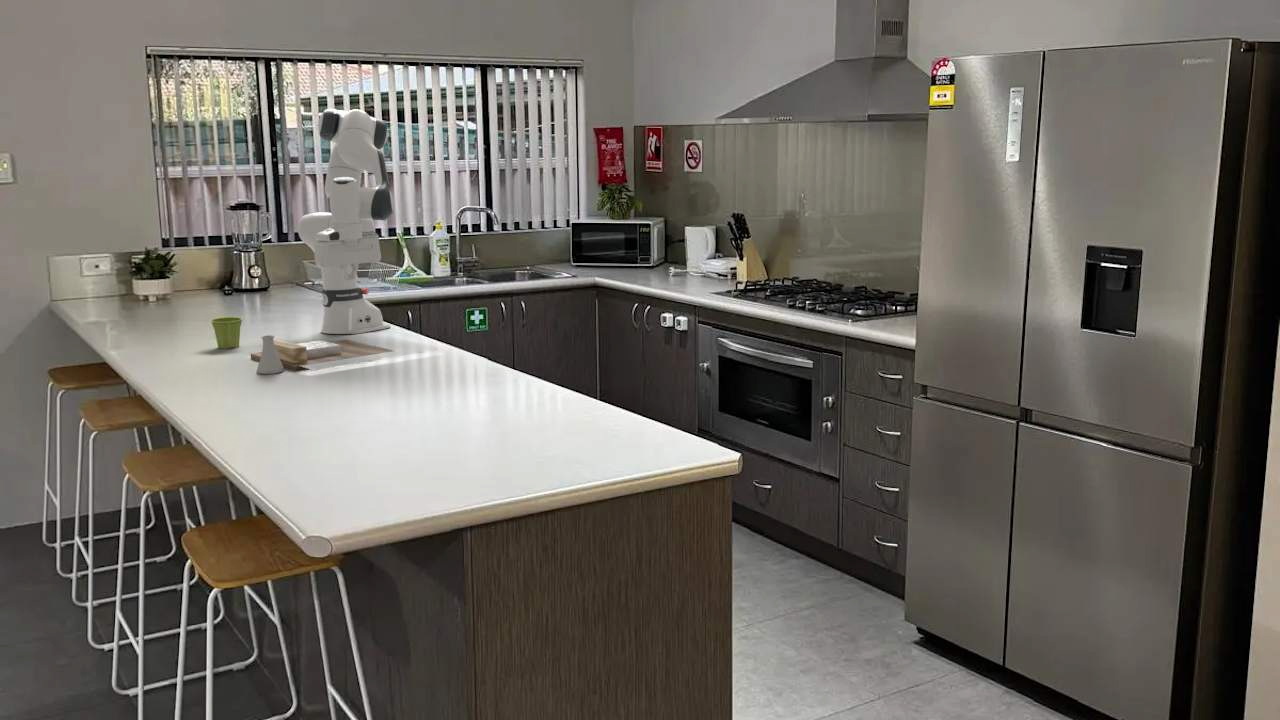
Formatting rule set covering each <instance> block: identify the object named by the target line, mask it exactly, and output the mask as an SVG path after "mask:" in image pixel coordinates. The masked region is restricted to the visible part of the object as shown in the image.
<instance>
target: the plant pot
mask: <svg viewBox="0 0 1280 720" xmlns="http://www.w3.org/2000/svg"><path fill="white" fill-rule="evenodd" d="M209 321H210V323H212V328H213V331H214V335H215V339H216V343H217V348H219V349H224V350H228V349H231V348H233V349H236V348H238V347H240V338H241V337H240V336H241V325H242V321H243V318H242V317H237V316H226V317H225V316H224V317H217V318H212V319H210V320H209Z"/></svg>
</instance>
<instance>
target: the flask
mask: <svg viewBox="0 0 1280 720" xmlns="http://www.w3.org/2000/svg"><path fill="white" fill-rule="evenodd" d="M260 337H261V340H262V351H261V352H262V355H261V358H260V361H258V362H259V363H258V366H257V369H256V371H255V372H256V374H259V375H260V374H263V375H273V374H278V373H282V372H284V371H285V370H286V369H285V368H284V367H283V365H282V363H281V361H280V359H279V357H278V355H277V352H276V350H275V347H274V343H273V340H274V338H275V335H271V334H269V335H263V336H260Z"/></svg>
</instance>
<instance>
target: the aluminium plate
mask: <svg viewBox="0 0 1280 720" xmlns="http://www.w3.org/2000/svg"><path fill="white" fill-rule="evenodd" d="M330 342H331V341H329V342H328V341H326V340H320V339H318V340H312V341H305V342H299V343H296V344H297V345H301V346H305V347H306V349H307V359H309V358H315V357H322V356H328V355H335V354H341V346H340V345H338V344H334V343H330Z"/></svg>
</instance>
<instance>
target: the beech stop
mask: <svg viewBox="0 0 1280 720" xmlns="http://www.w3.org/2000/svg"><path fill="white" fill-rule="evenodd" d="M273 343H274V347H275V350H276V352H277V355H278V357H279V359H282V360H285V361H289V362H292V363H297V362H303V361H307V349H306V347H305V346H301V345H297V343H292V342H288V341H284V340H280V339H277V338H276V339H273Z"/></svg>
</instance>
